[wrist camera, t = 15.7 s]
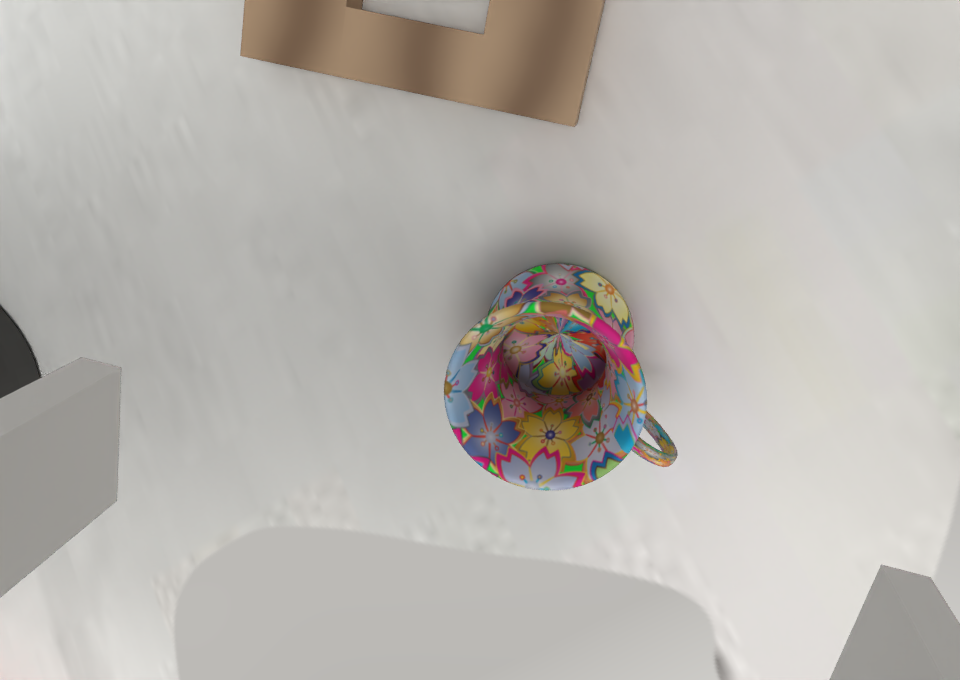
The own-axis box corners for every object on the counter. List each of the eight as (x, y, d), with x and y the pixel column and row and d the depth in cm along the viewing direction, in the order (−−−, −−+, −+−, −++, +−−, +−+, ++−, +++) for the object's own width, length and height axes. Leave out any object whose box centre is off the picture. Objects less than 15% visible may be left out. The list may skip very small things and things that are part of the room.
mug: (453, 351, 46) (408, 424, 37) (534, 221, 43) (508, 263, 33) (621, 455, 47) (621, 555, 37) (713, 334, 43) (741, 409, 34)
